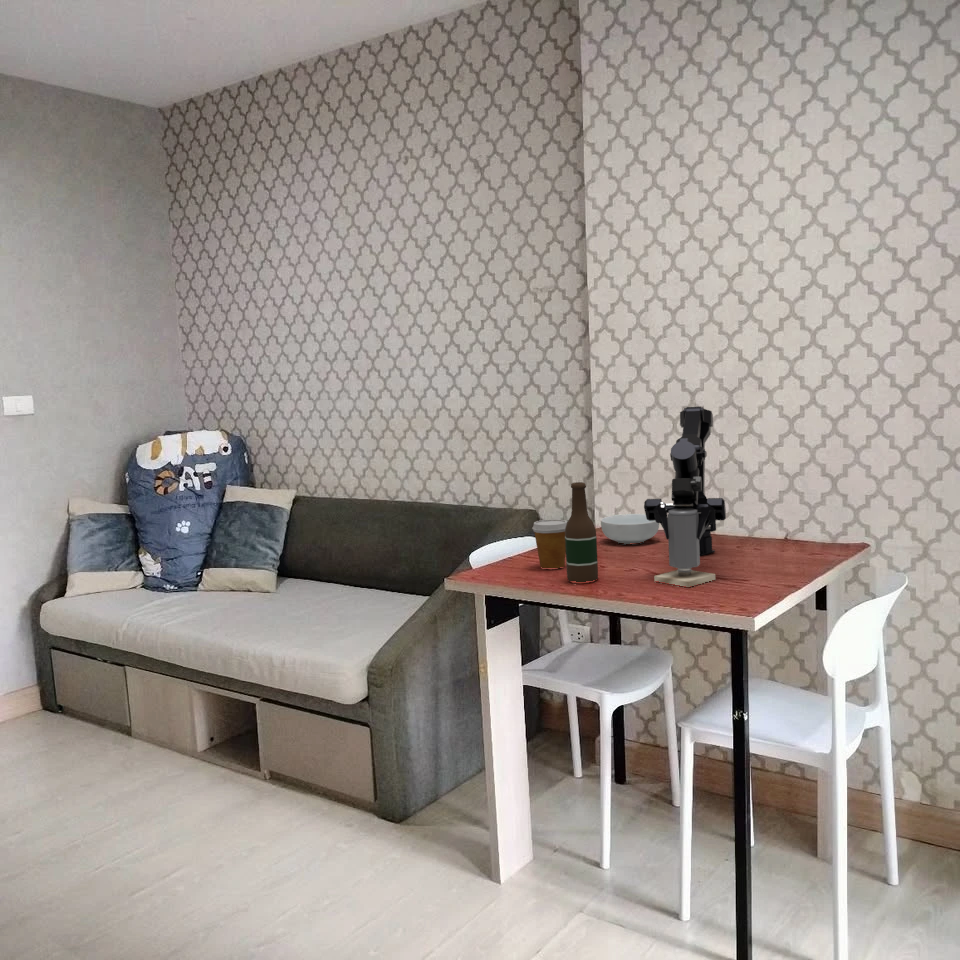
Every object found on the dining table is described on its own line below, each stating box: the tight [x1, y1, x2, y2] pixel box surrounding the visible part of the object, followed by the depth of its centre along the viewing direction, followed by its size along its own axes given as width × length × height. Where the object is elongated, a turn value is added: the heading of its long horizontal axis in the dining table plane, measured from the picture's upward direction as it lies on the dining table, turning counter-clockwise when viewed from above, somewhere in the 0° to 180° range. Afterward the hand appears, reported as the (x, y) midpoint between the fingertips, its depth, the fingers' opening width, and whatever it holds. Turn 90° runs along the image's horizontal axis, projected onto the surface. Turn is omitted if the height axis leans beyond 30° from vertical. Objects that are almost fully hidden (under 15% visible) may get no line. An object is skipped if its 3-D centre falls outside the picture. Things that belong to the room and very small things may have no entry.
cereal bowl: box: [600, 513, 660, 545], centre depth 276 cm, size 17×17×7 cm
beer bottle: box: [565, 481, 599, 582], centre depth 229 cm, size 8×8×24 cm
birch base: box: [653, 569, 716, 587], centre depth 224 cm, size 10×10×2 cm
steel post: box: [676, 568, 693, 576], centre depth 224 cm, size 3×3×4 cm
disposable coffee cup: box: [532, 519, 568, 568], centre depth 247 cm, size 10×10×12 cm
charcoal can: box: [667, 508, 701, 569], centre depth 223 cm, size 7×7×13 cm
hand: (682, 538), depth 222 cm, fingers closed on charcoal can, 7 cm apart
